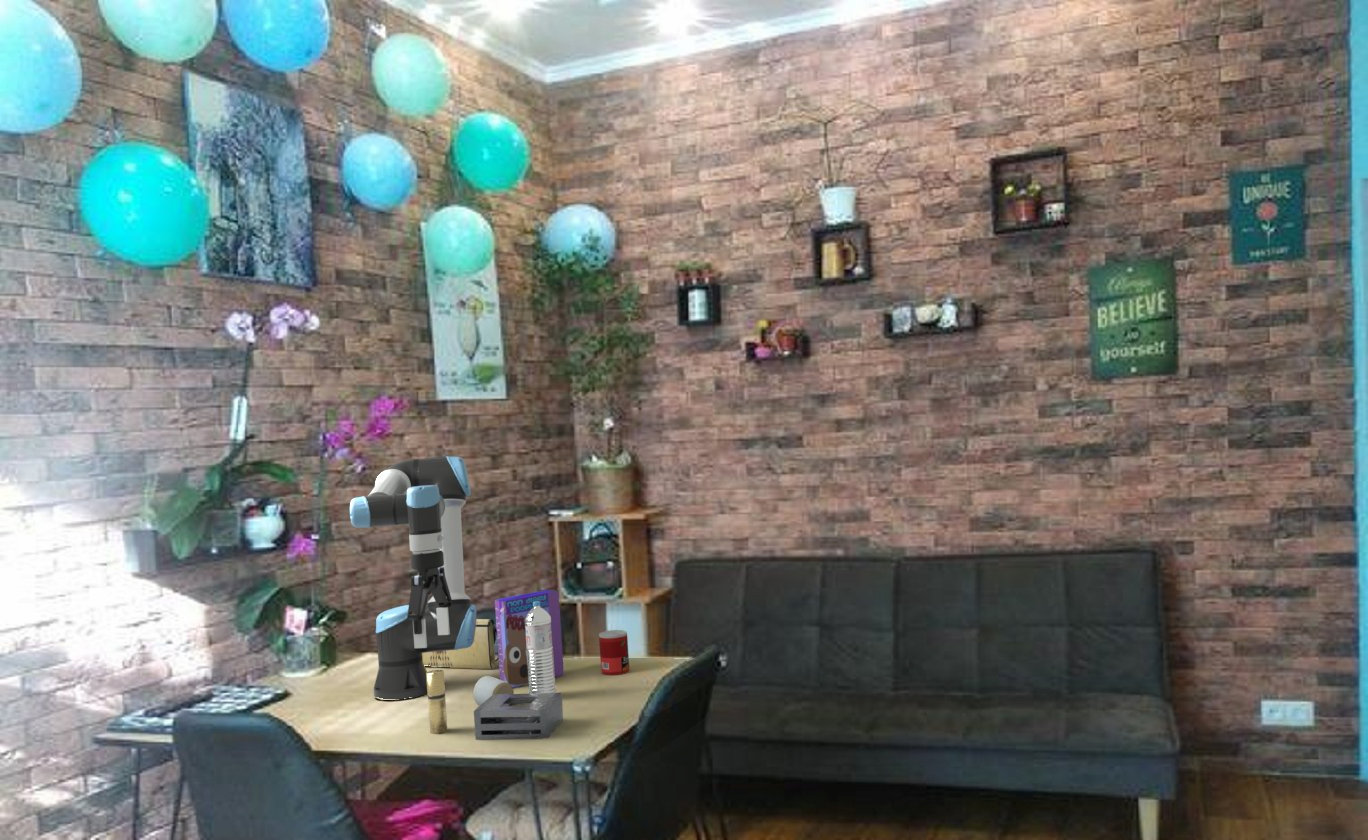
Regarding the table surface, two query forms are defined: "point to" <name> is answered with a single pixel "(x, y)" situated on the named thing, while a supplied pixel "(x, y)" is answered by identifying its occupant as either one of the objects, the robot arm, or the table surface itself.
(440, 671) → the gold domed cylinder
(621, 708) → the table surface
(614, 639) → the canned food
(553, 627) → the cereal box
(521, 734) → the collar stand
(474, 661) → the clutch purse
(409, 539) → the robot arm
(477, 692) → the ceramic mug
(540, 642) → the water bottle
